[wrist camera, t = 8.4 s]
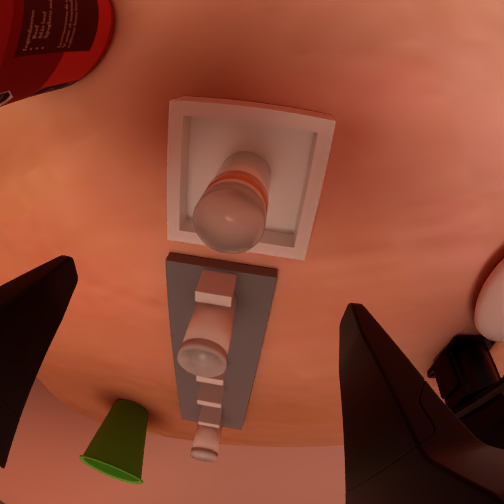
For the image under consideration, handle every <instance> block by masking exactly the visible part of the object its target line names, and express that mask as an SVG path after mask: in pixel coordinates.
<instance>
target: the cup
mask: <svg viewBox="0 0 504 504" xmlns="http://www.w3.org/2000/svg"><path fill="white" fill-rule="evenodd" d="M147 422H148V415H147V411H146V410H145V409H144V408H143V407H142V406H140V405H138V404H136V403H134V402H132V401H128V400H122V399H121V400H118V401H117V402H115V403H114V405H113V407H112V408H111V410H110V412H109V413H108V415H107V416H106V418H105V420H104V421H103V423H102V425H101V427H100V428H99V429H98V431H97V433H96V434H95V436H94V438H93V439H92V441H91V443H90V444H89V446H88V448H87V449H86V451H85V453H84V454H83V455H80V459H81V461H83V462H84V463H85V464H87V465H88V466H90V467H92V468H93V469H95V470H97V471H99V472H101V473H103V474H106V475H108V476H110V477H113V478H116V479H119V480H121V481H125V482H129V483H133V484H142V483H143V481H142V480H141V475H142V465H143V455H144V446H145V437H146V429H147Z"/></svg>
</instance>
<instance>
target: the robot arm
mask: <svg viewBox="0 0 504 504" xmlns="http://www.w3.org/2000/svg"><path fill="white" fill-rule="evenodd" d="M77 281H78V275H77V271H76V267H75V263H74V260H73V258H72V257H69V256H65V255H61V256H59V257H57V258H55V259H53V260H51V261H49V262H47V263H45V264H43V265H41V266H39V267H37V268H35V269H33V270H31V271H29V272H27V273H25V274H23V275H21V276H19V277H17V278H15V279H13V280H11V281H9V282H7V283H5V284H4V285H2V286H0V466H1V467H2V468H4V467H5V465H6V462H7V458H8V455H9V451H10V448H11V445H12V441H13V438H14V435H15V432H16V429H17V426H18V423H19V420H20V417H21V414H22V411H23V408H24V406H25V403H26V401H27V398H28V395H29V393H30V390H31V387H32V385H33V383H34V380H35V378H36V376H37V373H38V371H39V369H40V366H41V364H42V362H43V359H44V357H45V355H46V353H47V350H48V348H49V346H50V344H51V342H52V340H53V338H54V336H55V333H56V331H57V329H58V327H59V325H60V323H61V321H62V319H63V316H64V314H65V312H66V309H67V307H68V304H69V301H70V299H71V297H72V294H73V292H74V289H75V287H76V285H77ZM495 342H496V341H492V340H489V339H487V338H485V337H481V336H456V337H455V338H454V339H453V340H452V341H451V343H450V344H449V345H448V347H447V348H446V349H445V351H444V352H443V353H442V355H441V356H440V357H439V359H438V360H437V361H436V363H435V364H434V365H433V366H432V368H431V369H430V370H429V371H428V373H427V375H428V377H429V378H436V381H437V384H438V387H439V391H440V394H441V398H442V399H444V400H445V403H446V405H445V403H444V402H443V401H442V400H441V399H440V398H439V396H438V395H437V394H436V393H435V392H434V390H433V389H432V388H431V387H430V385H429V384H428V383H427V382H426V381H424V378H423V377H422V375H421V374H420V373H419V372H418V370H417V369H416V368H415V367H414V365H413V364H412V363H411V362H410V361H409V359H408V358H407V357H406V356H405V354H404V353H403V352H402V351H401V350H400V348H399V347H398V346H397V345H396V343H395V342H394V341H393V340H392V339H391V337H390V336H389V335H388V334H387V333H386V332H385V330H384V329H383V328H382V327H381V326H380V324H379V323H378V322H377V321H376V320H375V319H374V317H373V316H372V315H371V314H370V313H369V312H368V310H367V309H366V308H365V307H364V306H363V305H362V304H358V303H349V304H348V306H347V308H346V310H345V313H344V315H343V317H342V320H341V323H340V339H339V378H340V389H341V402H342V416H343V432H344V452H345V481H346V482H345V483H346V504H504V376H503V377H502V378H501V377H500V375H499V372H498V370H497V368H496V365H495V363H494V361H493V358H492V356H491V354H490V352H489V350H490V349H491V347H492V346H493V345H494V344H495ZM0 504H5V503H3V502H2V501H0Z"/></svg>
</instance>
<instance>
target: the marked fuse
mask: <svg viewBox="0 0 504 504" xmlns="http://www.w3.org/2000/svg"><path fill="white" fill-rule="evenodd" d="M270 182H271V171H270V168H269V165H268V163H267V162H266V161H265V160H264V159H263V158H262V157H261V156H259V155H258V154H256V153H253V152H249V151H241V152H237V153H234V154H232V155H231V156H229V157H228V158H227V159H226V160H225V161H224V163H223V165H222V166H221V168H220V169H219V171H218V173H217V174H216V176H215V177H214V179H213V180H212V181H211V182H210V183H209V185H208V187H207V188H206V190H205V192H204V193H203V195H202V196H201V198H200V200H199V201H198V203H197V205H196V206H195V209H194V212H193V225H194V228H195V231H196V233H197V235H198V236H199V238H200V239H201V240H202V241H203V242H204V243H205V244H206V245H207V246H209V247H210V248H212V249H214V250H216V251H219V252H222V253H228V254H236V253H242V252H245V251H248V250H250V249H251V248H253V247H254V246H255V245H256V244H258V242H259V241H260V240H261V238H262V236H263V234H264V231H265V225H266V217H267V211H268V202H269V201H268V196H269V189H270Z"/></svg>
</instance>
